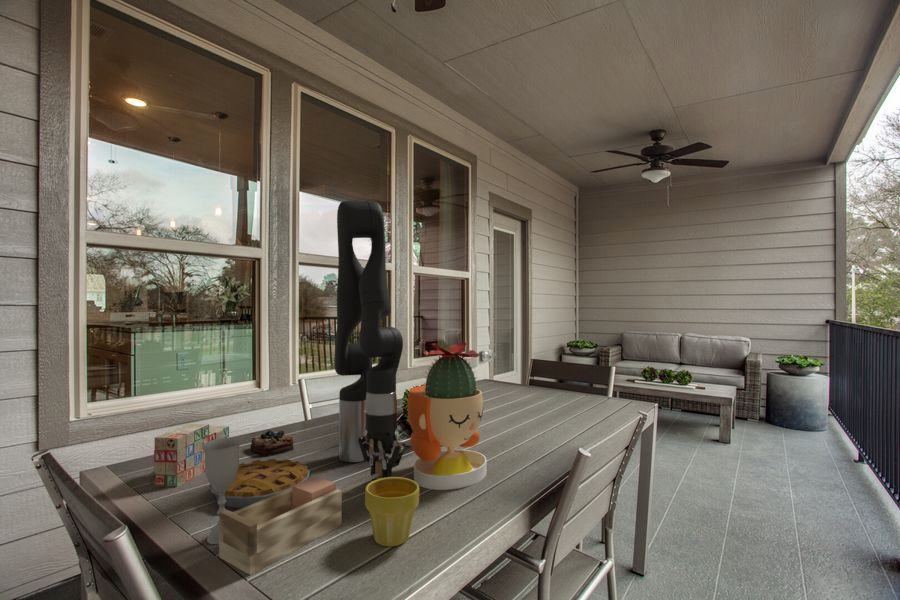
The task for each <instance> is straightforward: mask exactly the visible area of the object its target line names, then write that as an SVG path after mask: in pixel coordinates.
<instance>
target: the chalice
mask: <svg viewBox="0 0 900 600" xmlns="http://www.w3.org/2000/svg"><path fill="white" fill-rule="evenodd" d="M242 442H243V440H242V439H241V438H239V437H229V438H221V439H216V440H212V441H209V442H206V443H204V444H203V445H202V448H203V449H204V451H205V471H204V473H205V476H206V479H207V481H208V484H209V485H211V487H212V488H213V490H214V492H217V493H219V496H220V497H219V501H218V500H217V504H218V506H219V509H218V510H217V512H216V514H217V515H219V512H221V511H223V510H227V509H226V507H225V506H226V505H225V503H226V500H225V496H224V495H225V491H227V490H229V489H230V487H231V485H232V483H233V481H234V479H235V477H236V474H237V471H238V468H239V464H240V446H241V444H242ZM206 542H207V543H208V544H210V545H219V521H218V522H217V523H215V524H214V525H213V526H212V527H211V529H210V532H209V535H208V537H207V539H206Z"/></svg>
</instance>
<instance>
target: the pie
mask: <svg viewBox="0 0 900 600" xmlns="http://www.w3.org/2000/svg"><path fill="white" fill-rule="evenodd" d="M310 472H311V471H310V470H309V468H308V466H307V465H306V464H305V465H303V464H302V462H300V461H298V460H297V461H295V462H294V461H291V459H283V460H277V459H276V458H271V459H267V460H261V459H256V460H252V461H251V462H249V463H239V468H238V471H237V474H236V477H235V479H234V481H233V483H232V485H231V487H230V489H229V490H227V491H225V495H224V496H225V500H226V503H225V506H227V507H230V508H238V509H242V508H244V507H247V506H249V505H252V504H254V503H257V502H259V501H261V500H264V499H266V498H269V497H271V496H274V495H276V494H279V493H281V492H284V491H286V490H289V489H291V488H292V486H294V485H296V484H299V483H301V482H304V481H306V480H309V479H308V478H309V476H310ZM208 489H209V490H210V491H211V494H213V495H214V496H215V499H216V500H217V502H218V501H219V497H220V496H219V493H217V492H214V490H213V488H212V487H211V485H210V484H209V485H208Z"/></svg>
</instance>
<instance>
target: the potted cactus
mask: <svg viewBox="0 0 900 600" xmlns="http://www.w3.org/2000/svg"><path fill="white" fill-rule="evenodd" d="M429 345H431V347H432V348H434V349H436V350H430V351H427V350H425V351H424V352H423V354H424V355H425V356H429V357H437V358H434V360H433V361H431V362H430V365H428V368H427V369H428V371H426V372H425V373H426V374H427V375H426V376H425V379H426V380H425V382H423V383H422V385H420V386H414V387H412V388H410V389H409V390H408V391H409V392H408V396H407V417H408V422H409V425H410V428H411V430H412V433H411V435H410V447H411V450H412V451H413V452H414V453H415V456H417V457H418V459H417V460H416V461H415V462H414V464H413V481H415V482H416V483H417V484H418V485H419V487H421V488H424V489H427V490H428V489H429V490H438V491H444V490H446V491H447V490H456V489H462V488H466V487H470V486H472V485H476V484H477V483H479V482H481V481H482V480H483V479H484V478H485V477H486V476H487V473H488V472H487V466H488V465H487V457H486V456H485V455H484V454H482V453H481V452H478V451H476V450H475V451H474V450H469V449H456V447H461V448H471V447H472V448H473V447H474V446H476V445H477V444H478V443H479V442H480V433H479V431H478V428H479V426H480V424H481V420H482V417H483V414H484V400H483V392H482V390H480V388H479V386H477V385H478V383H477V379H478V377H477V376H476V373H477V372H476V370H475V369H474V368H475V367H474V366H471V362H468V360H469V359H468V358H478V357H479V356H480V353H478V352H476V350H474V349H471V350H468V351H466V352H465V347H466V346H467V343H466V342H465V341H462V342H460V343H457V342H455V343H453V344H452V345H450V346H448V345H446V346H445V349H444V348H443V347H440V346H439V345H438V344H437V343H432V342H431V343H429ZM431 365H432V366H431ZM442 447H444V448H447V450H442Z"/></svg>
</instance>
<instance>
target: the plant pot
mask: <svg viewBox="0 0 900 600" xmlns="http://www.w3.org/2000/svg"><path fill="white" fill-rule="evenodd" d="M364 491H365V492H364V505H365V508H366V510H367V511H368V513H369V517H370V524H371V528H372V529H371V530H372V533H373V539H374V541H375V542H376V544H378V545H380V546H382V547H398V546H400V545H403V544H405V543H406V542H408V540H409V537H410V533H411V528H412V524H413V519H414V514H415V510H416V509H417V508H418V506H419V503H420V486H419V485H418V484H417V483H416V482H415V481H414V479H413V480H412V479H410V478H408V477H407V478H406V477H403V476H402V477H400V476H392V477H387V478H381V479H377V480H375V481H372V480H371V481H370V482H369V483H368V484H367V485H366V486H365V490H364Z"/></svg>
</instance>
